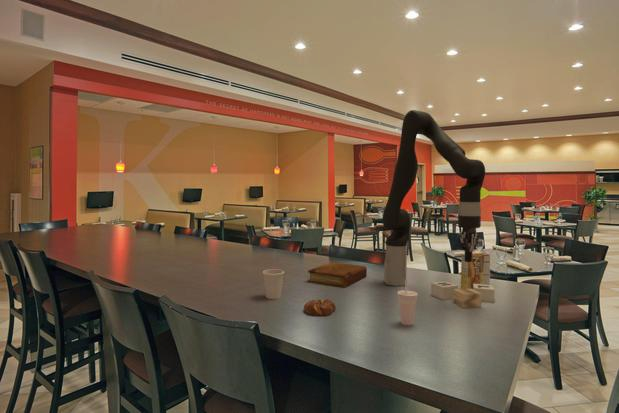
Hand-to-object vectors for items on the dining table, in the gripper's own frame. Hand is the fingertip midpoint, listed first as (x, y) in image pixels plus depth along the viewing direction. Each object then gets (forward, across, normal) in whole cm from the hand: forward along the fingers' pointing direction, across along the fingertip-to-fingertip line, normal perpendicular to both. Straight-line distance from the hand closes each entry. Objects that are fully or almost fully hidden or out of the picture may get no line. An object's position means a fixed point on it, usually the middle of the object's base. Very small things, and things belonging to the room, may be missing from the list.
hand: (468, 261), depth 140 cm
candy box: (+16, +21, +7) cm, 28 cm away
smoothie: (+16, -33, +5) cm, 37 cm away
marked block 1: (+16, +4, +11) cm, 20 cm away
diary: (+16, -6, +58) cm, 60 cm away
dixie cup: (+16, -46, +56) cm, 74 cm away
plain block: (+16, 0, 0) cm, 16 cm away
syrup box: (+16, +33, +8) cm, 38 cm away
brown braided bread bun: (+16, -44, +32) cm, 57 cm away
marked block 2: (+16, +11, -1) cm, 20 cm away
